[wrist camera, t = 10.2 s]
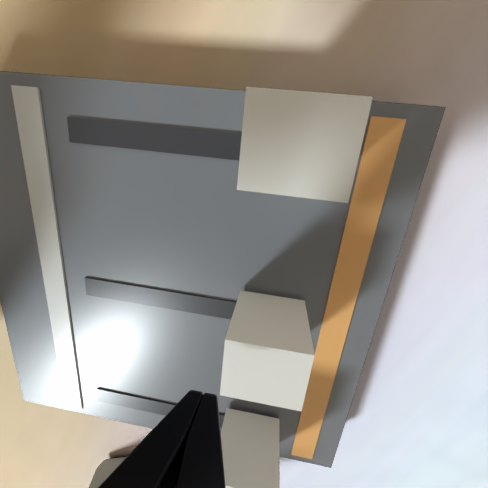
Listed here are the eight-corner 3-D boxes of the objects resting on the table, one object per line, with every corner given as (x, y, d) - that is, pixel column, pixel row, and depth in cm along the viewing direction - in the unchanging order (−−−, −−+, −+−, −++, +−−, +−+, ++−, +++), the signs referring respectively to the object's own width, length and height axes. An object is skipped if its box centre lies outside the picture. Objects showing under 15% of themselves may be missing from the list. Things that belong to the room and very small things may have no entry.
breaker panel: (49, 376, 19) (22, 401, 17) (-5, 80, 13) (-58, 65, 11) (325, 433, 17) (331, 469, 15) (416, 117, 11) (447, 106, 9)
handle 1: (222, 438, 15) (206, 516, 12) (226, 407, 14) (210, 481, 11) (273, 449, 15) (271, 532, 11) (279, 418, 14) (279, 498, 11)
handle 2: (250, 181, 10) (236, 189, 7) (257, 113, 9) (246, 86, 6) (325, 189, 10) (348, 203, 7) (339, 120, 9) (373, 96, 6)
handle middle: (235, 334, 13) (219, 395, 9) (240, 290, 12) (225, 339, 9) (295, 345, 12) (301, 411, 9) (304, 300, 12) (314, 355, 8)
